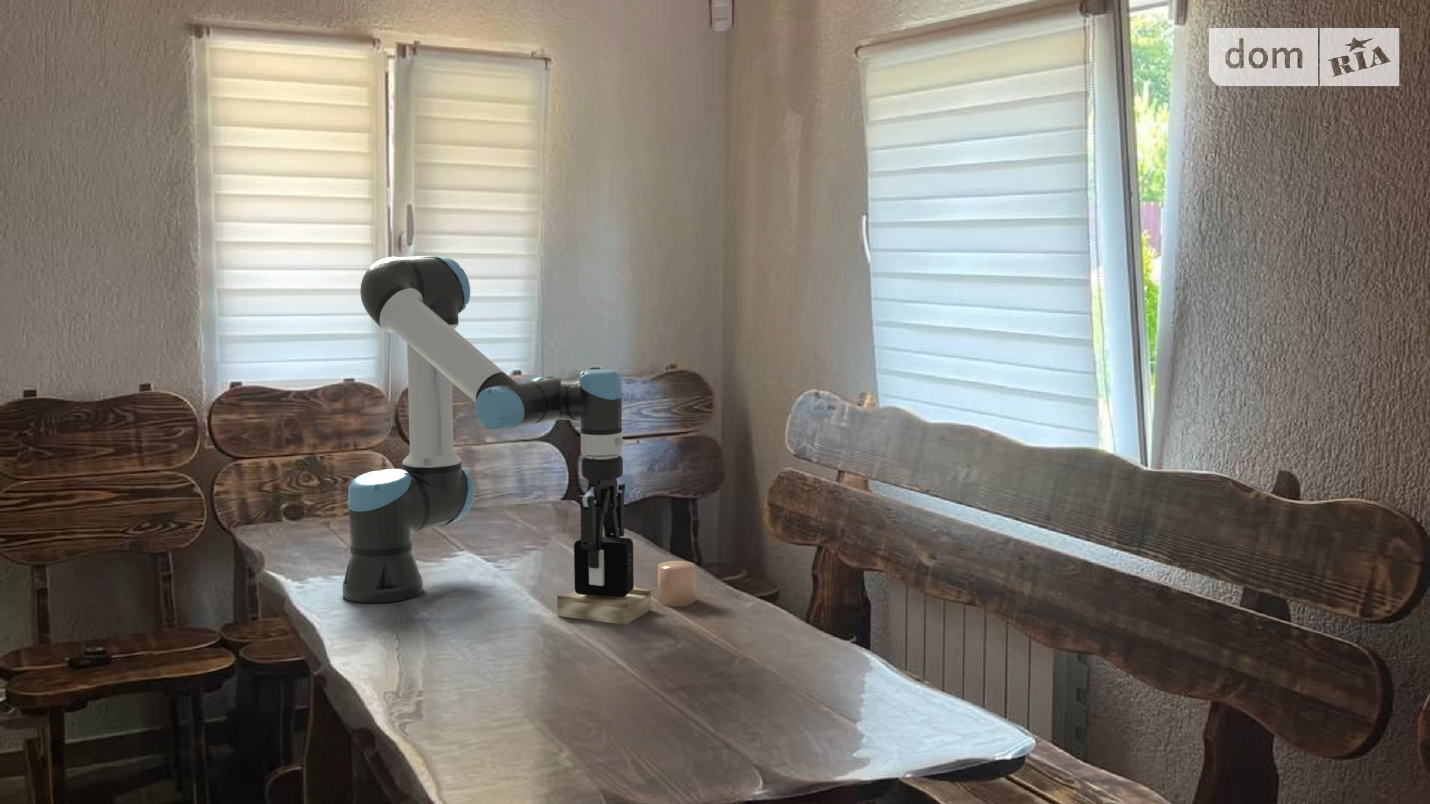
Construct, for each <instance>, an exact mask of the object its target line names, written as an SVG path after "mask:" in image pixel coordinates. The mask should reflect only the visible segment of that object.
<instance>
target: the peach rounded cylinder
mask: <svg viewBox="0 0 1430 804" xmlns="http://www.w3.org/2000/svg"><path fill="white" fill-rule="evenodd" d="M657 582H658V583H657V585H658V587H657V588H658V589H657V593H658V595H657V597H658V604H660V605H661V606H666V607H673V608H675V607H676V608H677V607H678V608H679V607H687V606H691V605H693V604H695V603H696V564H695V563H693V562H691V561H687V560H686V561H685V560H670V561H669V560H667V561H663V562H661V563H658V565H657Z"/></svg>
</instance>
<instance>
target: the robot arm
mask: <svg viewBox="0 0 1430 804" xmlns="http://www.w3.org/2000/svg"><path fill="white" fill-rule="evenodd" d="M359 292H360V299H361V303H362V305H363V308H364V309H365V311H366V312H367V314H368V315H369V317H370V318H371V319H372V321H374V323H376V324H377V325H378V326H379V327H380V328H381V329H383V331H385V332H387V333H392V334H394V333H395V334H397V335H398V336H399V337H400V338H401V339H402V340H403V341H405V342H406V351H407V352H406V353H407V357H406V358H407V388H408V389H407V391H408V394H407V397H408V430H409V431H408V432H409V453H408V455H406V456H405V458H404V459H403V460H402V463H401V464H402V465H401V466H402V468H385V469H384V468H383V469H381V470H379V469H378V470H372V471H368V472H366V473H362V474H359V475H358V476H356V477H354V479H352V480H351V481H350V483H349V485H348V491H347V492H348V496H347V501H346V502H347V503H346V504H347V508H348V520H349V521H348V522H349V523H348V526H349V545H350V548H349V549H350V555H349V560H348V565H347V567H346V572H345V575H344V580H343V582H342V587H341V588H342V596H344V597H345V598H344V597H343V598H344V599H346V600H348V601H350V600H351V602H355V603H360V604H361V603H363V604H381V603H382V604H383V603H392V602H393V603H394V602H400V601H404V600H408V599H412V598H414V597H417V596H419V595H420V594H422V593H423V591H424V582H423V581H424V579H423V576H422V575H421V573H420V570H419V567H418V564H417V561H416V558H415V555H414V552H413V533H417V532H421V531H426V530H430V529H434V528H436V527H446V526H448V525H450V524H452V523H455V522H457V521H460V520H461V519H463V518H464V517H465V515H467V513H469V511H470V509H471V507H472V505H473V502H474V498H475V497H474V496H475V485H474V480H473V478H472V477H470V472H469V471H468V470H467V468H466V467H464V466H462V459H461V458H460V456H459V455H457V454H456V452H455V451H454V416H453V415H454V411H453V409H454V408H453V405H454V404H453V385H454V386H456V387H457V388H458V389H459V390H460V391H462V393H463V394H465V395H466V396H467V397H468V398H470V400H471V401H472V402H474V403H475V404H474V405H475V406H474V407H475V414H476V416H477V417H478V419H479V423H481V425H482V426H484V427H485V428H486V429H488V430H493V431H497V430H511V429H514V428H518V427H525V426H528V425H534V424H541V423H545V422H551V421H557V420H567V421H577V422H579V423H580V425H579V426H580V454H582V455H583V456H582V457H581V460H580V465H581V467H580V468H581V469H580V471H581V472H580V473H581V474H580V475H581V477H582V478H583V479H586V480H587V481H588V482H587V486H586V493H585V494H584V495H582V494H580V495H579V496H578V503H579V507H580V537H581V547H582V549H584V550H588V551H589V584H590V585H599V586H603V585H604V550H601V543H602V537H603V533H604V537H616V538H624V536H625V491H626V485H625V483H618V480H617V479H619V478H621V477H622V476H624V475H623V474H624V458H623V457H622V455H621V454H623V444H624V438H623V426H622V425H623V423H622V420H623V419H622V418H623V417H622V416H623V410H622V409H623V396H624V395H623V387H622V378H621V377H622V376H621V374H620V372H618V371H617V370H614V369H606V368H605V369H603V368H602V369H601V368H600V369H599V368H598V369H597V368H596V369H595V368H594V369H586V370H582V371H581V372H580V374H579V379H571V378H563V377H561V378H560V377H555V376H546V377H545V376H544V377H543V376H541V377H540V376H539V377H536V378H533V379H531V381H527V382H521V383H519V382H517V381H515V379H513V378H512V377H511V376H509V375H508V374H507V373H506V372H504V371H503V370H502V368H500V367H499V366H497V365H496V364H495V363H494V362H493V361H491V360H490V359H489V358H488V357H487V356H486V355H485V354H484V353H483V352H481V350H479V349H477V347H476V346H474V345H473V344H472V343H471V342H469V340H468V339H466V338H465V337H464V336H463V335H461V334H460V333H459V332H458V331H457V330H455V329H456V328H457V327H458V326H459V314H461V312H463V311H465V309H466V308H467V305H468V304H469V302H470V299H471V298H470V297H471V286H470V281H469V278H468V276H467V273H466V272H465V270H464V269H463V268H462V267H461V265H460V264H459V263H458V262H457V261H455V260H454V259H452V258H450V257H447V256H436V255H432V254H431V255H422V256H400V257H398V256H389V257H386V258H385V257H384V258H382V259H379V260H377V261H376V262H375V263H373V264H372V265H371V266H370V267H369V268H368V269H367V270H366V271H365V273H364V275H363V276H362V280H361V283H360V291H359Z"/></svg>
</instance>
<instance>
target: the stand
mask: <svg viewBox="0 0 1430 804" xmlns="http://www.w3.org/2000/svg"><path fill="white" fill-rule="evenodd" d="M651 594H652V593H651V589H646V588H638V587H633V590H632V591H630V592H629V593H628V594H627V595H626V596H625V597H612V596H596V595H581V594H577V593H576V592H575V590H574V591H572V592H570V593H568V594H562V593H560V594H557V597H556V598H557V599H556V601H557V607H556V608H557V609H556V610H557V617H565V618H573V619H580V620H586V621H594V622H600V623H601V622H603V623H609V624H616V625H617V624H618V625H625V626H626V625H628V624H630V623H631V622H633V621H634V620H636V619H638V618H640V617H641V616H643V615H645V614H646V613H648V612H649V611H652V603H651V602H652V595H651Z"/></svg>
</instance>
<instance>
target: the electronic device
mask: <svg viewBox="0 0 1430 804" xmlns="http://www.w3.org/2000/svg"><path fill="white" fill-rule="evenodd" d="M601 550H604V585H603V586H599V585H590V584H589V551H588V550H584V549H582V547H581V536H580V537H579V538H578V539H576V540H575V542H574V544H573V565H574V566H573V567H574V568H573V569H574V591H575V592H576V593H577V594H581V595H596V596H612V597H625V596H626V595H627V594H628V593H629V592H630V591H632V590H633V588H635V586H634V585H635V584H634V542H633V540H632V539H631V538H630V537H621V538H616V537H605V536H602V543H601Z"/></svg>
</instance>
